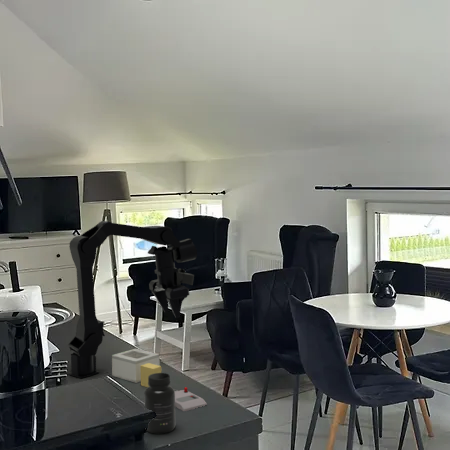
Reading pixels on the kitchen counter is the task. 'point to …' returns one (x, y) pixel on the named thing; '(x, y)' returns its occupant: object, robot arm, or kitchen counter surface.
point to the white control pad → (187, 400)
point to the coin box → (132, 364)
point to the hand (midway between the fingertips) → (171, 314)
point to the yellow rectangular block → (148, 372)
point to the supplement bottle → (160, 403)
